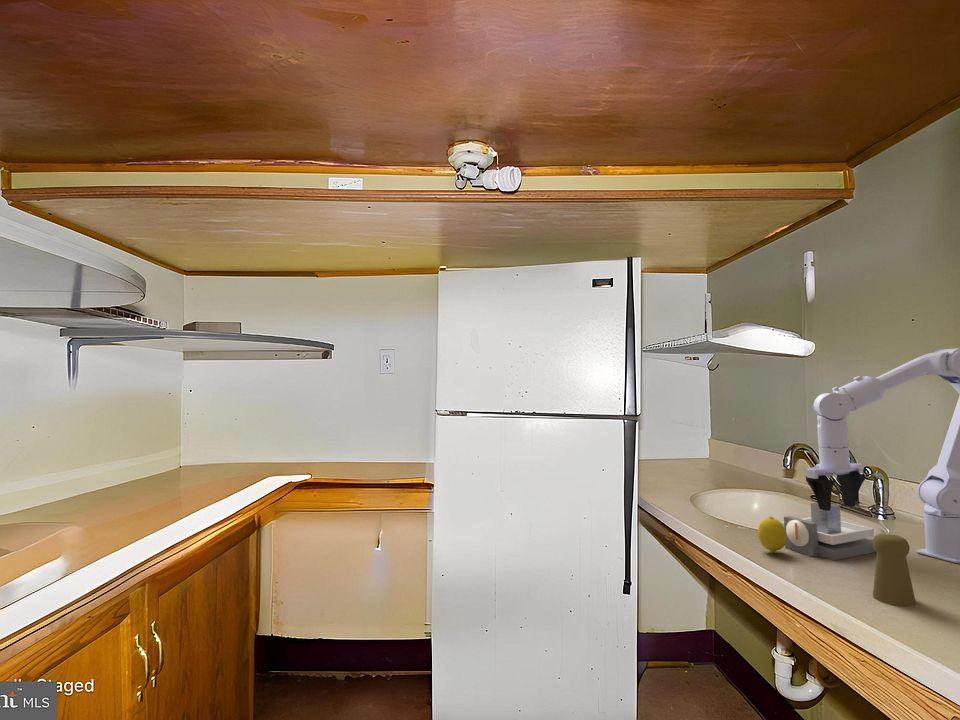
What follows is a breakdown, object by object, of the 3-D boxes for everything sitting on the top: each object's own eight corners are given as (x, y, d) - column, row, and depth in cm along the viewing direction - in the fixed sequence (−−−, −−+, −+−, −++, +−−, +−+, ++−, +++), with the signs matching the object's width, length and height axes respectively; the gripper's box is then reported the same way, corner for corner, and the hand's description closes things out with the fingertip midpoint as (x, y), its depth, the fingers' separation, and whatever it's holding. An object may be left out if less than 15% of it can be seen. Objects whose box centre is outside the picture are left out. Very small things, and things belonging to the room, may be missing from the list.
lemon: (771, 547, 126) (769, 512, 126) (793, 554, 121) (791, 517, 121) (753, 551, 124) (751, 515, 124) (774, 558, 119) (772, 521, 119)
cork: (874, 589, 100) (870, 528, 101) (916, 597, 97) (912, 533, 97) (871, 600, 96) (867, 536, 96) (915, 609, 92) (911, 542, 92)
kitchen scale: (821, 534, 134) (819, 505, 134) (879, 551, 121) (878, 518, 121) (770, 543, 129) (769, 513, 129) (826, 561, 115) (824, 528, 116)
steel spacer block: (824, 527, 128) (823, 501, 128) (841, 531, 124) (839, 505, 124) (812, 529, 126) (810, 503, 127) (828, 534, 123) (826, 507, 123)
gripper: (840, 442, 130) (843, 500, 129) (793, 447, 125) (797, 507, 124) (869, 445, 123) (873, 506, 122) (822, 450, 118) (826, 514, 118)
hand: (837, 507), depth 123 cm, fingers open, 7 cm apart
